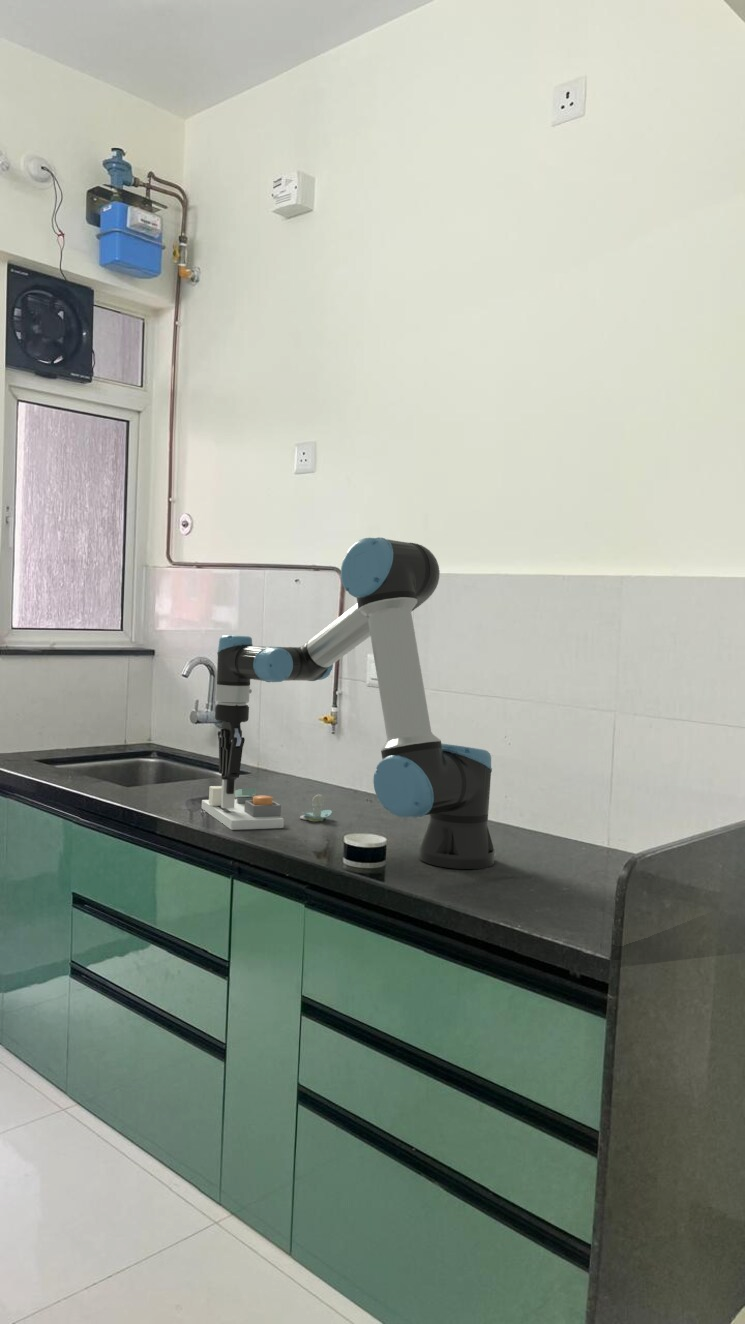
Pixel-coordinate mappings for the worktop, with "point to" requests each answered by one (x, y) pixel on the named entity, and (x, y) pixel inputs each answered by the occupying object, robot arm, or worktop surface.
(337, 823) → the worktop surface
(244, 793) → the rocker
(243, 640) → the robot arm
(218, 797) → the off-white square block
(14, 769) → the worktop surface
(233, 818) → the panel
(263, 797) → the plunger button
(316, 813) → the pacifier
